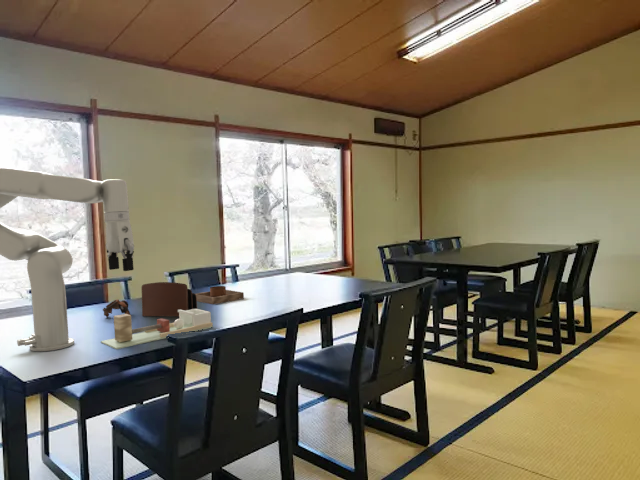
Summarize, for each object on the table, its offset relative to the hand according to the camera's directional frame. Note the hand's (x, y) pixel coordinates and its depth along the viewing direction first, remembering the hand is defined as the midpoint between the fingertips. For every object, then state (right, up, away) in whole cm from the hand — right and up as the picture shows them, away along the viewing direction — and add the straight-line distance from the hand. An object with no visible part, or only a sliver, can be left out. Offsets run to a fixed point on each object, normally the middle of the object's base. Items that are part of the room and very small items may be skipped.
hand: (121, 269), depth 158 cm
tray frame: (+17, -19, +72) cm, 76 cm away
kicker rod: (+6, -22, +4) cm, 23 cm away
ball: (+15, -20, +14) cm, 29 cm away
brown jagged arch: (-18, -22, +40) cm, 49 cm away
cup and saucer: (+17, -19, +72) cm, 76 cm away
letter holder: (+3, -21, +43) cm, 48 cm away
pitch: (+10, -23, +9) cm, 26 cm away
